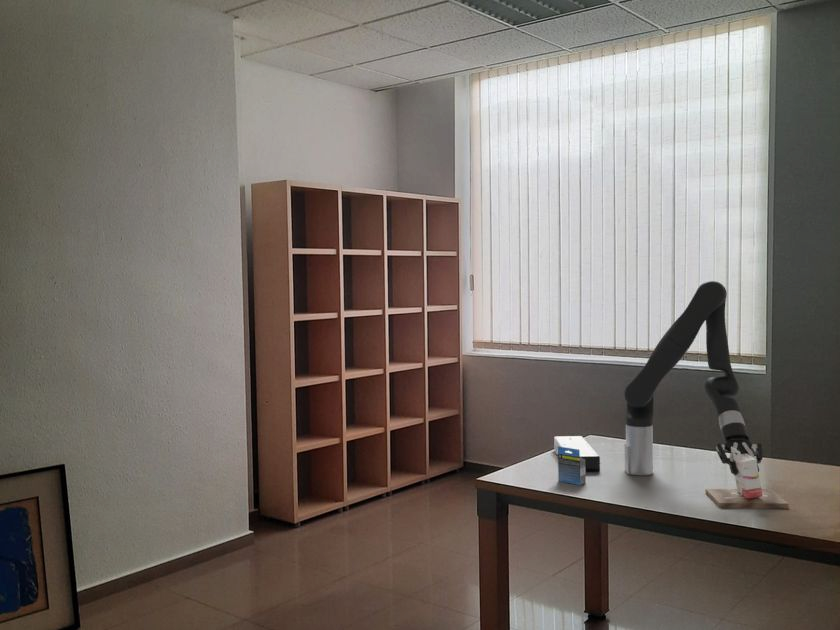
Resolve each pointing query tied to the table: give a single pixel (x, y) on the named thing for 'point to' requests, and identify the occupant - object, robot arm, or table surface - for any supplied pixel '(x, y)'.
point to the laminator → (584, 449)
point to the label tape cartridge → (571, 466)
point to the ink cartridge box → (747, 475)
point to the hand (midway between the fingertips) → (746, 473)
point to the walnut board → (745, 499)
